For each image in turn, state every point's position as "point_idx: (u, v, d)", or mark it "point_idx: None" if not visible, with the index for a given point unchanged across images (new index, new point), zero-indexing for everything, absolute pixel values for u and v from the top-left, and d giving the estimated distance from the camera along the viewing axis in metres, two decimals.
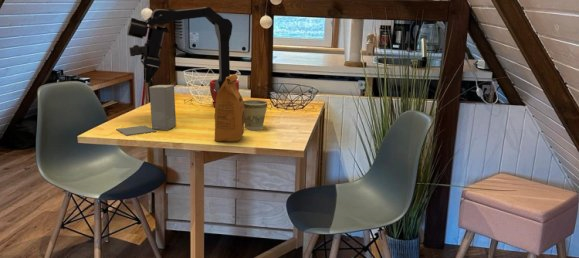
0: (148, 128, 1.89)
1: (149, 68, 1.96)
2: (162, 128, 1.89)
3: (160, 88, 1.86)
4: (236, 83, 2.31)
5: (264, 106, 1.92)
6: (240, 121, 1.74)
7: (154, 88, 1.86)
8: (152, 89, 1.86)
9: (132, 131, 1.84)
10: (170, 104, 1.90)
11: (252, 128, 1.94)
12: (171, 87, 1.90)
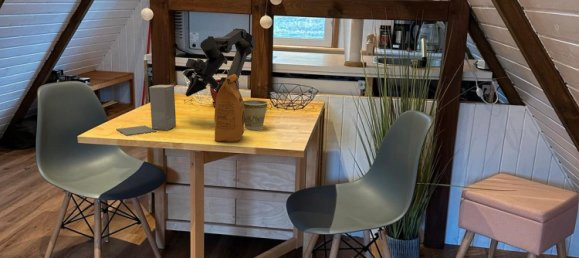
0: (148, 128, 1.89)
1: (197, 84, 1.96)
2: (162, 128, 1.89)
3: (160, 88, 1.86)
4: None
5: (264, 106, 1.92)
6: (240, 121, 1.74)
7: (154, 88, 1.86)
8: (152, 89, 1.86)
9: (132, 131, 1.84)
10: (170, 104, 1.90)
11: (252, 128, 1.94)
12: (171, 87, 1.90)
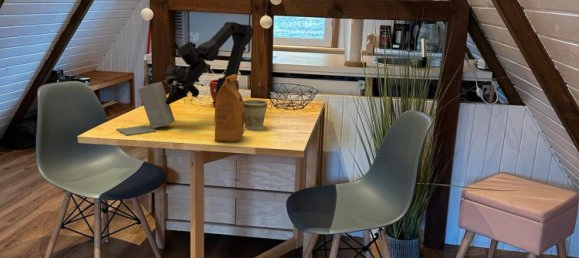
0: (148, 128, 1.89)
1: (177, 92, 1.92)
2: (161, 125, 1.88)
3: (148, 86, 1.86)
4: None
5: (264, 106, 1.92)
6: (240, 121, 1.74)
7: (142, 88, 1.87)
8: (141, 90, 1.87)
9: (132, 131, 1.84)
10: (162, 99, 1.90)
11: (252, 128, 1.94)
12: (159, 83, 1.91)
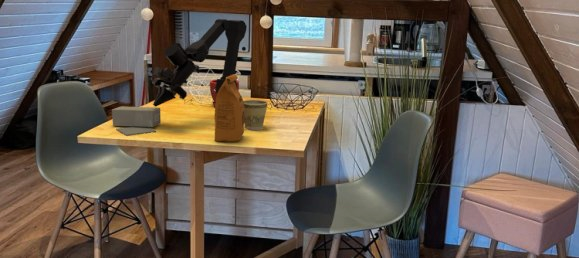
0: (148, 128, 1.89)
1: (165, 94, 1.89)
2: (150, 115, 1.89)
3: (113, 114, 1.91)
4: None
5: (264, 106, 1.92)
6: (240, 121, 1.74)
7: (113, 120, 1.91)
8: (114, 122, 1.91)
9: (132, 131, 1.84)
10: (132, 108, 1.93)
11: (252, 128, 1.94)
12: (119, 107, 1.95)
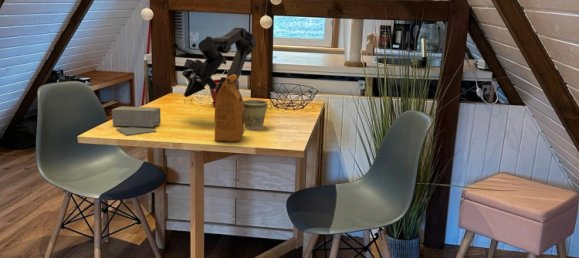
0: (148, 128, 1.89)
1: (195, 85, 1.96)
2: (150, 115, 1.89)
3: (113, 114, 1.91)
4: None
5: (264, 106, 1.92)
6: (240, 121, 1.74)
7: (113, 120, 1.91)
8: (114, 122, 1.91)
9: (132, 131, 1.84)
10: (132, 108, 1.93)
11: (252, 128, 1.94)
12: (119, 107, 1.95)
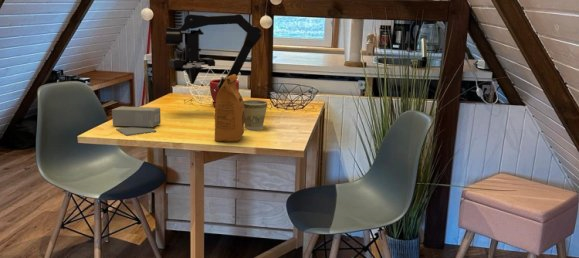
0: (148, 128, 1.89)
1: (188, 70, 2.11)
2: (150, 115, 1.89)
3: (113, 114, 1.91)
4: (236, 83, 2.31)
5: (264, 106, 1.92)
6: (240, 121, 1.74)
7: (113, 120, 1.91)
8: (114, 122, 1.91)
9: (132, 131, 1.84)
10: (132, 108, 1.93)
11: (252, 128, 1.94)
12: (119, 107, 1.95)
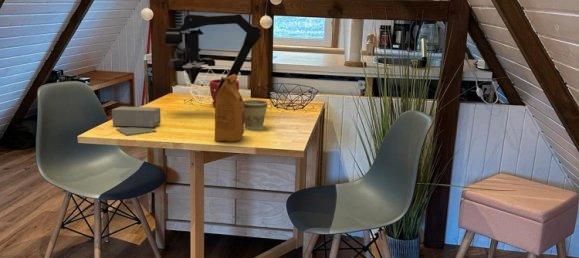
0: (148, 128, 1.89)
1: (188, 70, 2.12)
2: (150, 115, 1.89)
3: (113, 114, 1.91)
4: (236, 83, 2.31)
5: (264, 106, 1.92)
6: (240, 121, 1.74)
7: (113, 120, 1.91)
8: (114, 122, 1.91)
9: (132, 131, 1.84)
10: (132, 108, 1.93)
11: (252, 128, 1.94)
12: (119, 107, 1.95)
